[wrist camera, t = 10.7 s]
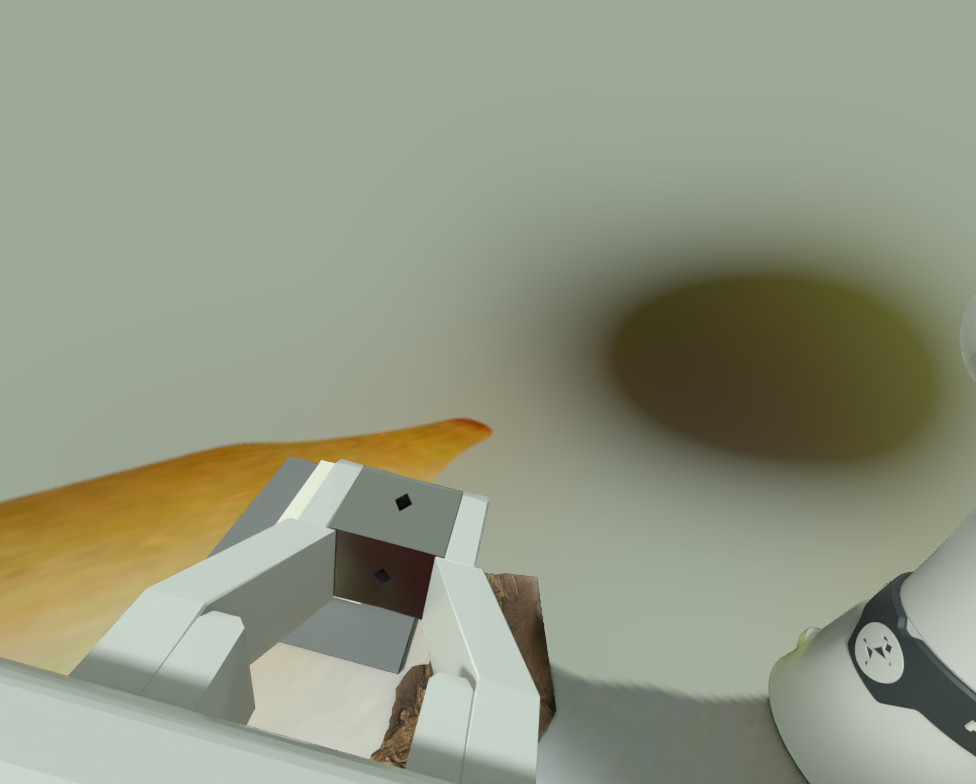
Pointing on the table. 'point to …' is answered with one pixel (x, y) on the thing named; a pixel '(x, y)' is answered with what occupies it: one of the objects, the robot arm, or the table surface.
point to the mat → (339, 622)
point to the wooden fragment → (528, 631)
